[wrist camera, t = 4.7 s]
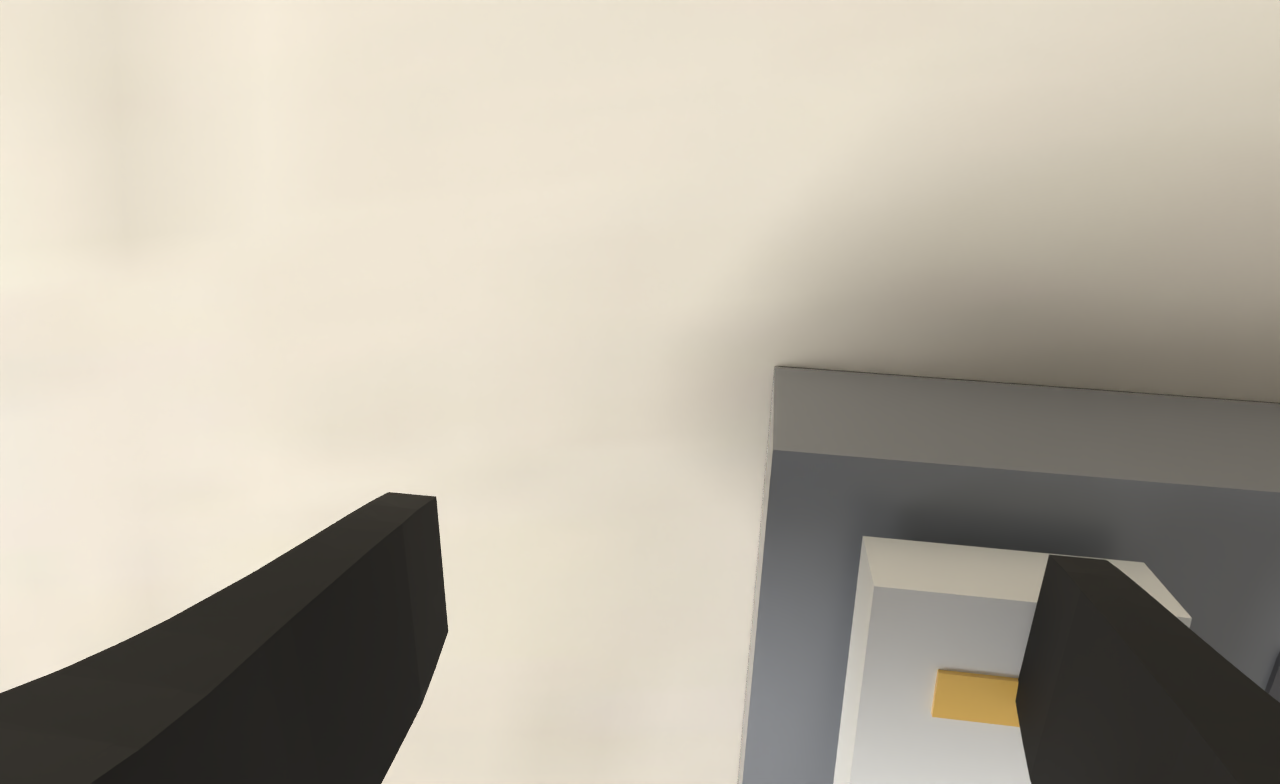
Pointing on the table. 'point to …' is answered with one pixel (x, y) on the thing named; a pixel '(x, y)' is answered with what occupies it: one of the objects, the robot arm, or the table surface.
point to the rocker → (944, 661)
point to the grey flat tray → (995, 519)
